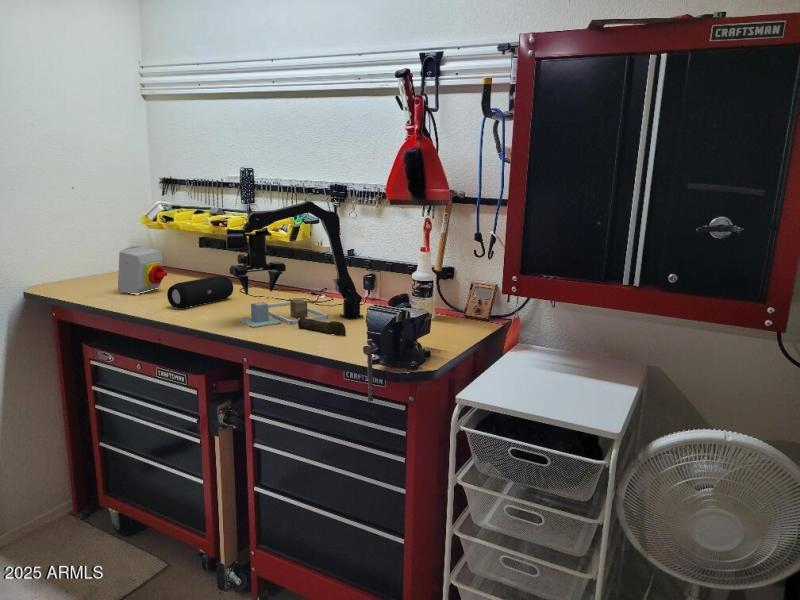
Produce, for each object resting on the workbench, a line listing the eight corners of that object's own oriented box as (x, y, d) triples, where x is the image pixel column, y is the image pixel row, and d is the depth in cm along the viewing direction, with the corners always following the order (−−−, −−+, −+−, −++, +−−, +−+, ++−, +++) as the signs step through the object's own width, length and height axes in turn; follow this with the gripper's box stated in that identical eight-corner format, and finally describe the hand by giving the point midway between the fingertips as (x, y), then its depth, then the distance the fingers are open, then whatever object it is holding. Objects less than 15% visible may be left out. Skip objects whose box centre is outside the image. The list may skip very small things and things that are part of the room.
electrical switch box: (147, 301, 245) (150, 255, 240) (117, 294, 248) (119, 247, 243) (170, 294, 259) (172, 250, 254) (140, 287, 262) (143, 243, 257)
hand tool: (297, 329, 202) (296, 316, 201) (304, 326, 205) (304, 314, 204) (340, 339, 192) (340, 325, 191) (347, 336, 195) (347, 322, 194)
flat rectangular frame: (328, 318, 216) (328, 315, 216) (290, 324, 207) (290, 321, 206) (291, 303, 237) (291, 300, 237) (255, 309, 227) (255, 306, 227)
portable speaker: (183, 311, 222) (181, 285, 220) (166, 308, 227) (164, 282, 225) (235, 299, 243) (234, 276, 241) (219, 296, 248) (218, 273, 246)
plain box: (307, 317, 217) (307, 301, 216) (296, 319, 214) (296, 303, 213) (301, 314, 220) (301, 299, 219) (290, 316, 218) (290, 300, 216)
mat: (281, 323, 208) (281, 321, 208) (252, 328, 201) (252, 326, 201) (267, 316, 216) (267, 315, 216) (239, 321, 210) (238, 319, 209)
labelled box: (268, 321, 208) (268, 304, 207) (257, 322, 206) (256, 305, 204) (263, 318, 212) (262, 301, 210) (251, 320, 209) (250, 303, 208)
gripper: (271, 244, 215) (272, 286, 218) (222, 247, 203) (224, 291, 207) (286, 247, 206) (287, 291, 210) (235, 251, 195) (237, 297, 198)
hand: (258, 292), depth 206 cm, fingers open, 9 cm apart
